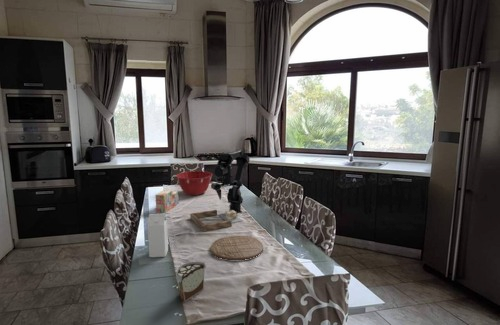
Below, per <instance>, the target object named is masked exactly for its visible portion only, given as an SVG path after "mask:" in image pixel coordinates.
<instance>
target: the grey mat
mask: <svg viewBox="0 0 500 325" xmlns="http://www.w3.org/2000/svg"><path fill="white" fill-rule="evenodd" d="M219 217H220V218H222V219H223V220H224V221H229V220H228V219H227V218H226V214H222V215H219ZM236 217H237V219H231V221H232V224H234V223H240V222H244V220H243V219H241V218H240V217H239V216H238V215H236Z"/></svg>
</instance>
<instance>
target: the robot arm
mask: <svg viewBox="0 0 500 325" xmlns="http://www.w3.org/2000/svg"><path fill="white" fill-rule="evenodd" d="M218 157H219V158H218V161H217V164H216V165H217V166H216V167H215V169H214V175H215V182H213V183H211V184H210V185H211V186H210V188H211V189H212V190H214V191H215V192H216V194H217V195H218V198H219V200H220V201H221V200H222V189H221V188H224V187H225V188H226V187H230V188H229V189H228V192H227V195H226V198H227V203H228V204H229V207H228V208H229V210H228V211H230V210H234V211H235V212H236V214H238V213H242V212H243V211H242V210H241V209H242V208H241V206H242V205H241V204H243V202H244V199H243V196H242V192H241V189H240V188H241V187H242V186H243V181H242V180H243V177H244V172H245V169H246V168H247V167H248V165H249V164H250V162H251V161H250V157H249V155H248V154H247V153H246V152H245V151H244V150H242V149H235V150H232V151H230V152H221V153H220V155H219V156H218ZM234 160H235V162H236V166H237V168H236V172H235V176H234V180H232V178H233V174H232V166H233V163H232V162H234Z"/></svg>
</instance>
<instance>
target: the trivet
mask: <svg viewBox="0 0 500 325" xmlns="http://www.w3.org/2000/svg"><path fill="white" fill-rule="evenodd" d="M211 252H212V253H211ZM263 252H264V244H263V242H262V241H261V240H259V239H258V238H255V237H252V236H248V235H247V236H246V235H229V236H224V237H221V238H218V239H216V240H214V241H213V242H212V243H211V245H210V253H211V254H212V256H213V257H215V256H216V257H215V258H217V257H218V258H217V259H219V258H222V259H227V260H245V259H250V258H253V257H255V258H257V257H259V256H260V255H261V254H263ZM259 254H260V255H259ZM258 255H259V256H258ZM256 256H257V257H256ZM222 259H221V260H222ZM253 259H254V258H253ZM227 260H226V261H227ZM250 260H251V259H250ZM245 261H246V260H245Z"/></svg>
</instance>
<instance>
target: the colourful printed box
mask: <svg viewBox="0 0 500 325" xmlns="http://www.w3.org/2000/svg"><path fill="white" fill-rule="evenodd" d="M177 204H178V205H179V204H180V203H179V191H175V190H168V189H163V190H162V191H159V192H158V193H156V194H155V207H156V208H155V211H156V213H155V214H166V213H167V212H169V211H170V210H172V209H173V208H174V207H176V206H178V205H177Z"/></svg>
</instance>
